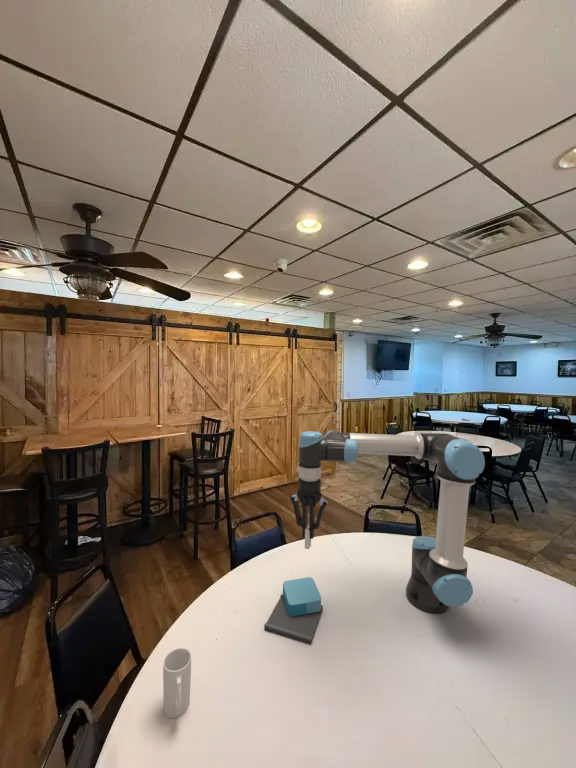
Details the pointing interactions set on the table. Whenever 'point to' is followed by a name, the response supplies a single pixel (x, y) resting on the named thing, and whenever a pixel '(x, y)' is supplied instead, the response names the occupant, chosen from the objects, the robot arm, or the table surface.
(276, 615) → the dark gray square slab
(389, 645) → the table surface
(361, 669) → the table surface
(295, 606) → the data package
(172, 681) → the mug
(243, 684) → the table surface
